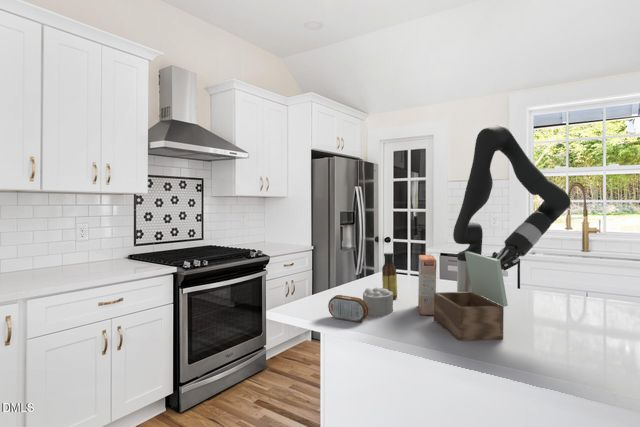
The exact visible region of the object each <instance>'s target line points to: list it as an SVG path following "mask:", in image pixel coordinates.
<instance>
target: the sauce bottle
mask: <svg viewBox="0 0 640 427" xmlns="http://www.w3.org/2000/svg"><path fill="white" fill-rule="evenodd" d="M383 257H384V264H383V266H382V268H381V270H382V271H381V273H382V275H381V277H382V278H381V279H382V288H384V289H387V290H389V291H391V292H393V300H396V299H397V298H398V279H397V278H398V277H397V268H396V266H395V264H394V252H384V253H383Z"/></svg>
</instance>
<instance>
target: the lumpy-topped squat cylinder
mask: <svg viewBox="0 0 640 427" xmlns="http://www.w3.org/2000/svg"><path fill="white" fill-rule="evenodd" d="M362 300H363V301H364V302H365V303H366V304H367V307H368V315H367V317H373V318H374V317H376V318H377V317H384V316H388V315H390V314H392V313H393V312H394V299H393V292H391V291H389V290H387V289H384V288H383V287H382V288H381V287H374V288H373V289H371V288H369V287H368V288H365V290H364V292H362Z"/></svg>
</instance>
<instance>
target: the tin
mask: <svg viewBox="0 0 640 427" xmlns="http://www.w3.org/2000/svg"><path fill="white" fill-rule="evenodd" d="M327 307H328V308H327V309H328V311H329V314H330V315H331V316H332V317H333V318H335V319H337V320H341V321H349V322H354V323H360V322H362V321H364V320H365V319H366V318H367V317H368V316H367V315H368V307H367V304H366V303H365V302H364V301H363V298H359V297H356V296H348V295H342V294H337V295H334V296H333V297H331V298H330V300H329V301H328V305H327Z"/></svg>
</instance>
